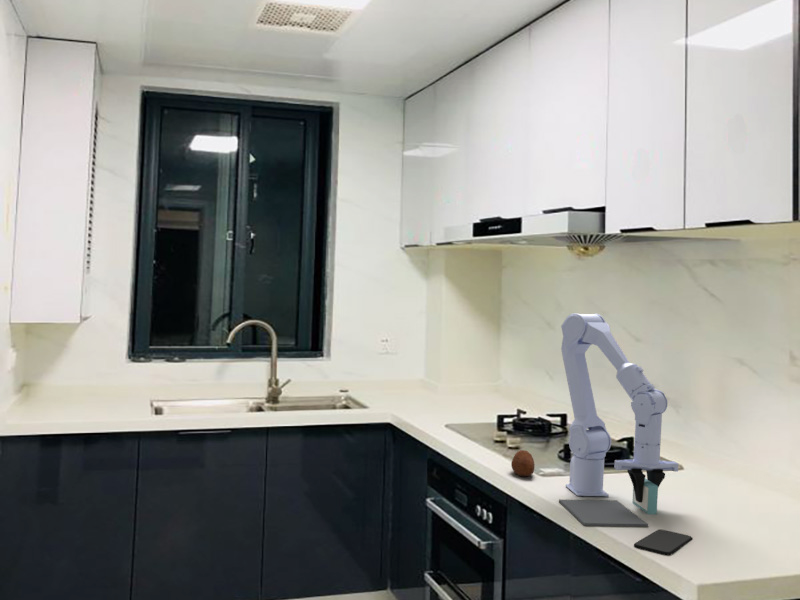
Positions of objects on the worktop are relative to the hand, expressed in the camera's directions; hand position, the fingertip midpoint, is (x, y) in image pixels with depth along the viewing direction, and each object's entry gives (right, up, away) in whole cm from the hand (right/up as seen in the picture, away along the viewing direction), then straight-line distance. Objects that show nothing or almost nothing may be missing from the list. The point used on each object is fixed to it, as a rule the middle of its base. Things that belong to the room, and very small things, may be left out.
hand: (644, 501), depth 182 cm
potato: (-24, 0, +28) cm, 37 cm away
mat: (-12, -1, -6) cm, 13 cm away
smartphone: (-4, -3, -24) cm, 25 cm away
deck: (0, -2, 0) cm, 2 cm away
